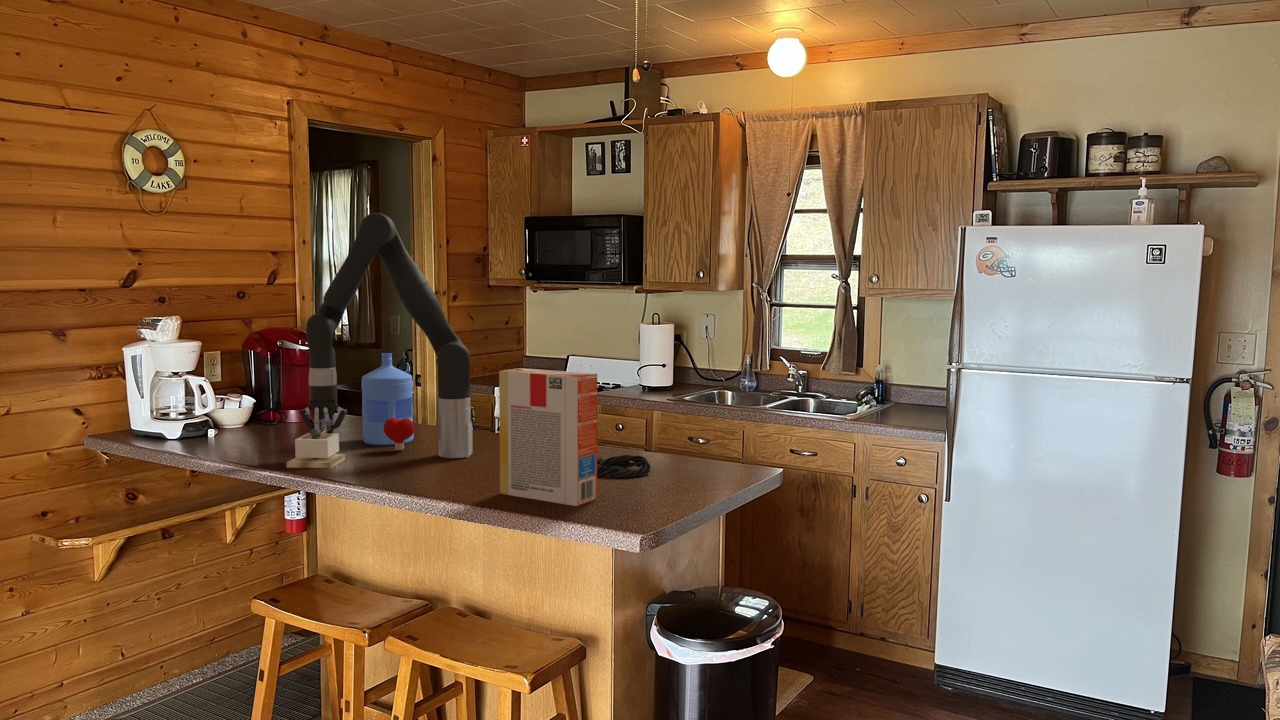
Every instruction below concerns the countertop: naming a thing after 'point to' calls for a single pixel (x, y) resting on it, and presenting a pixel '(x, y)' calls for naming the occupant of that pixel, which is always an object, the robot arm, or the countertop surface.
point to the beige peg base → (316, 461)
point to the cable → (623, 466)
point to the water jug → (385, 400)
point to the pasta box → (548, 435)
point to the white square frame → (317, 446)
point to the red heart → (399, 431)
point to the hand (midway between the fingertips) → (324, 443)
